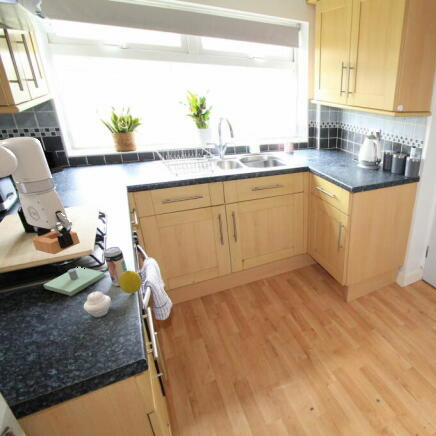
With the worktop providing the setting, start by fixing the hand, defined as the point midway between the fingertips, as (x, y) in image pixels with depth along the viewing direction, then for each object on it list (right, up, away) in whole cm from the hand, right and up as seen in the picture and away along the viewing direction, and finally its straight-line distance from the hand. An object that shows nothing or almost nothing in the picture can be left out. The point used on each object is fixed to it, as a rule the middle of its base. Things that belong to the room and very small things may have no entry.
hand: (57, 243), depth 91 cm
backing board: (-3, -13, +10) cm, 17 cm away
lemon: (+18, -16, +6) cm, 25 cm away
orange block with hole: (0, -1, 0) cm, 1 cm away
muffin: (+14, -19, -3) cm, 24 cm away
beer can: (+12, -13, +11) cm, 21 cm away
